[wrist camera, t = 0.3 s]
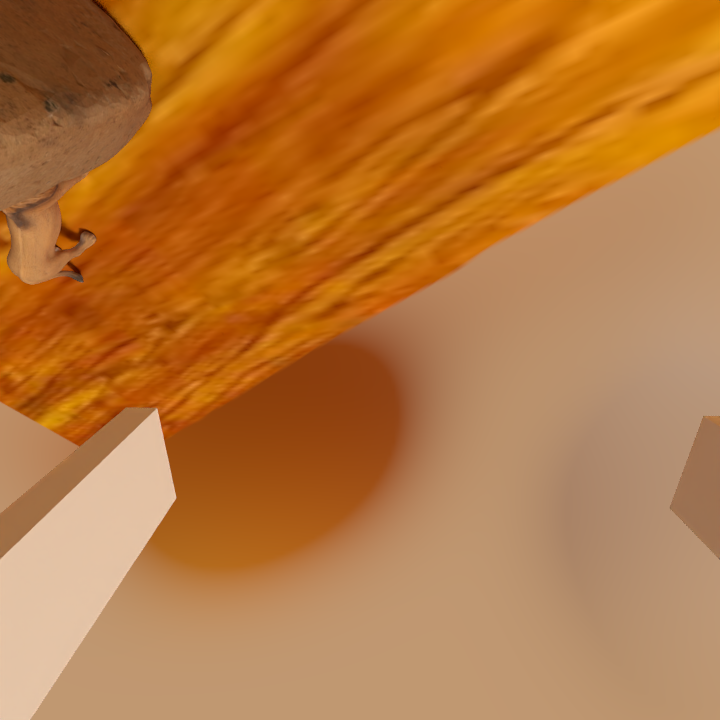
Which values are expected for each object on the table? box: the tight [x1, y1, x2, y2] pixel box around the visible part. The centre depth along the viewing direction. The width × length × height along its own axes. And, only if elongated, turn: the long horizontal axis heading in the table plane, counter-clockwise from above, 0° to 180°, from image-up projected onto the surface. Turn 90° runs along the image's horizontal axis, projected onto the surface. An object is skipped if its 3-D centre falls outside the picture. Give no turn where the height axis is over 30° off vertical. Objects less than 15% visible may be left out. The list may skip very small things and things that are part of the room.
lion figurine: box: [2, 172, 96, 284], centre depth 30 cm, size 15×5×9 cm, turn 168°
